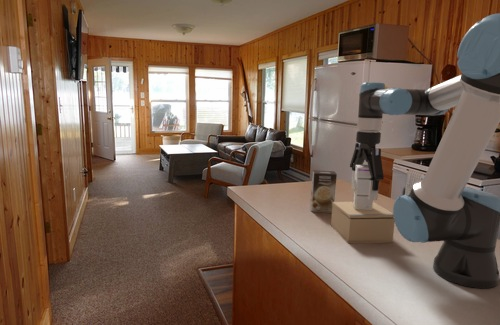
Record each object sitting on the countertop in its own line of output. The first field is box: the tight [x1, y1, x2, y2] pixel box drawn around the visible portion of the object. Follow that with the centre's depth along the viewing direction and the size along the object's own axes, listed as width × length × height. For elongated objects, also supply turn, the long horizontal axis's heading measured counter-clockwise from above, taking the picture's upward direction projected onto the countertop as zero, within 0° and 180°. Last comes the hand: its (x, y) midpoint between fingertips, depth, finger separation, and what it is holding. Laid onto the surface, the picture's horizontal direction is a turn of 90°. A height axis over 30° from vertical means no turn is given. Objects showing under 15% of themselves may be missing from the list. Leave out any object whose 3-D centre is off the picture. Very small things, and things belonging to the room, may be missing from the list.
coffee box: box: [309, 169, 338, 214], centre depth 147 cm, size 9×6×16 cm
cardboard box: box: [330, 204, 395, 244], centre depth 123 cm, size 16×15×8 cm
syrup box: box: [352, 164, 374, 211], centre depth 121 cm, size 6×6×14 cm
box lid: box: [332, 201, 394, 218], centre depth 122 cm, size 16×15×1 cm
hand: (363, 194), depth 121 cm, fingers open, 13 cm apart
